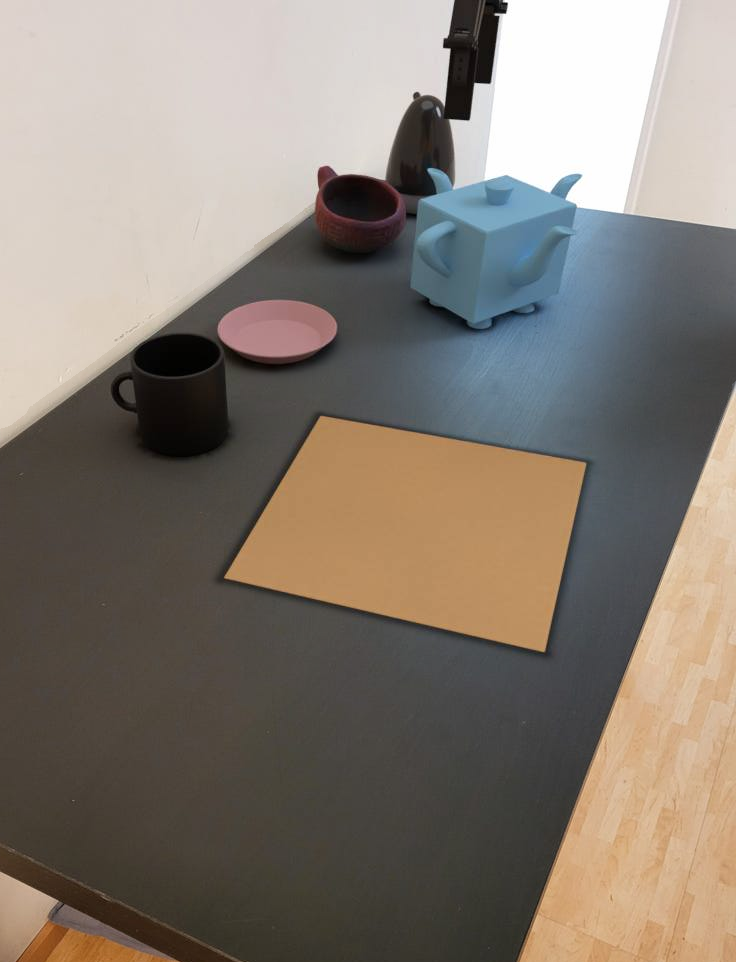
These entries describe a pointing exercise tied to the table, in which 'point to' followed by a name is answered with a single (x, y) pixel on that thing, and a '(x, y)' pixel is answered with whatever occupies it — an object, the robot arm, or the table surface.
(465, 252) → the teakettle
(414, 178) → the dark brown tall dome
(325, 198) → the bowl
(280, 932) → the table surface
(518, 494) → the trivet mat
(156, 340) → the mug
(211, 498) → the table surface
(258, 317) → the plate
